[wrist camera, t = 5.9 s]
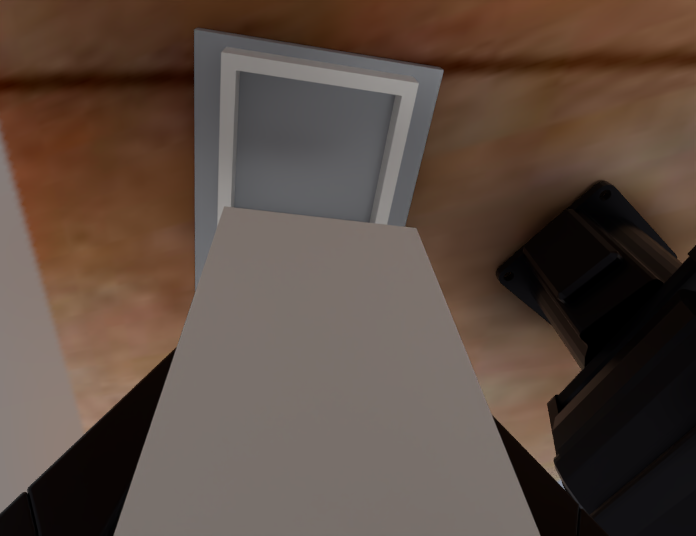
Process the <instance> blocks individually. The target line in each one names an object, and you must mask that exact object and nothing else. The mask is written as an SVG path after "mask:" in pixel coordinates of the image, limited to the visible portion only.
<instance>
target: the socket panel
mask: <svg viewBox="0 0 696 536" xmlns="http://www.w3.org/2000/svg"><path fill="white" fill-rule="evenodd" d="M443 71H444V70H443V69H442V68H440V67H435V66H429V65H423V64H417V63H411V62H405V61H399V60H393V59H386V58H380V57H374V56H368V55H362V54H356V53H350V52H344V51H338V50H332V49H325V48H319V47H313V46H307V45H301V44H295V43H289V42H283V41H277V40H271V39H264V38H258V37H252V36H246V35H240V34H234V33H228V32H222V31H216V30H210V29H203V28H196V29H194V118H195V292H196V289H197V286H198V283H199V280H200V277H201V274H202V271H203V268H204V265H205V262H206V259H207V256H208V253H209V250H210V247H211V244H212V241H213V238H214V235H215V232H216V229H217V226H218V223H219V220H220V217H221V214H222V211H223V208H224V206H226V207H234V208H243V209H252V210H261V211H270V212H279V213H287V214H296V215H305V216H314V217H323V218H332V219H340V220H349V221H358V222H367V223H376V224H385V225H393V226H402V227H405V224H406V220H407V216H408V212H409V208H410V204H411V200H412V196H413V192H414V188H415V184H416V180H417V176H418V172H419V168H420V164H421V160H422V156H423V152H424V148H425V144H426V140H427V136H428V132H429V128H430V124H431V120H432V116H433V112H434V108H435V104H436V100H437V96H438V91H439V87H440V83H441V79H442V75H443Z"/></svg>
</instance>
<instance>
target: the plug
mask: <svg viewBox="0 0 696 536" xmlns="http://www.w3.org/2000/svg"><path fill="white" fill-rule="evenodd" d="M114 536H540V533H539V531H538V528H537V526H536V523H535V521H534V518H533V516H532V513H531V511H530V509H529V506H528V504H527V501H526V499H525V496H524V494H523V491H522V489H521V486H520V484H519V481H518V479H517V476H516V474H515V471H514V469H513V466H512V464H511V461H510V459H509V456H508V454H507V452H506V449H505V447H504V444H503V442H502V439H501V437H500V434H499V432H498V429H497V427H496V424H495V422H494V419H493V417H492V414H491V412H490V409H489V407H488V404H487V402H486V399H485V397H484V395H483V392H482V390H481V387H480V385H479V382H478V380H477V377H476V375H475V372H474V370H473V367H472V365H471V362H470V360H469V357H468V355H467V352H466V350H465V347H464V345H463V342H462V340H461V338H460V335H459V333H458V330H457V328H456V325H455V323H454V320H453V318H452V315H451V313H450V310H449V308H448V305H447V303H446V300H445V298H444V295H443V293H442V290H441V288H440V285H439V283H438V281H437V278H436V276H435V273H434V271H433V268H432V266H431V263H430V261H429V258H428V256H427V253H426V251H425V248H424V246H423V243H422V241H421V238H420V236H419V233H418V231H417V228H411V227H402V226H393V225H385V224H376V223H367V222H358V221H349V220H340V219H332V218H323V217H314V216H305V215H296V214H287V213H279V212H270V211H261V210H252V209H243V208H234V207H226V206H224V208H223V211H222V214H221V217H220V220H219V223H218V226H217V229H216V232H215V235H214V238H213V241H212V244H211V247H210V250H209V253H208V256H207V259H206V262H205V265H204V268H203V271H202V274H201V277H200V280H199V283H198V286H197V289H196V292H195V295H194V298H193V301H192V304H191V307H190V310H189V312H188V315H187V318H186V321H185V324H184V327H183V330H182V333H181V336H180V339H179V342H178V345H177V348H176V351H175V354H174V357H173V360H172V363H171V366H170V369H169V372H168V375H167V378H166V381H165V384H164V387H163V390H162V393H161V396H160V399H159V402H158V405H157V408H156V411H155V414H154V417H153V420H152V423H151V426H150V429H149V431H148V434H147V437H146V440H145V443H144V446H143V449H142V452H141V455H140V458H139V461H138V464H137V467H136V470H135V473H134V476H133V479H132V482H131V485H130V488H129V491H128V494H127V497H126V500H125V503H124V506H123V509H122V512H121V515H120V518H119V521H118V524H117V527H116V530H115V533H114Z"/></svg>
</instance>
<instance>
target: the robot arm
mask: <svg viewBox="0 0 696 536" xmlns="http://www.w3.org/2000/svg"><path fill="white" fill-rule="evenodd" d="M605 190H606V193H605V194H604V195H603V196H601V197H600V194H601V193H602V192H603V191H605ZM688 255H689V257H688V258H687V260H686V261H685V262H684V263H681V262H680V261H679V260H678V259H677V256H676V254H675V253H674V252H673V251H672V250H671V249H670V248H669V247H668V245H667V244H666V243H665V242H664V241H663V240H662V239H661V238H660V237H659V235H658V234H657V233H656V232H655V231H654V230H653V229H652V228H651V227H650V225H649V224H648V223H647V222H646V221H645V220H644V219H643V218H642V216H641V215H640V214H639V213H638V212H637V211H636V210H635V209H634V208H633V206H632V205H631V204H630V203H629V202H628V201H627V200H626V199H625V198H624V196H623V195H622V194H621V193H620V192H619V191H618V190H617V189H616V188H615V187H614V186H613V185H612V184H610V183H609V182H606V181H602V182H599V183H597V184H596V185H594V186H593V187H592V188H591V189H589V190H588V191H587V192H586V193H585V194H584V195H582V196H581V197H580V198H579V199H578V200H577V201H575V202H574V203H573V204H572V205H571V206H570V207H569V208H567V209H566V210H565V211H563V212H562V213H561V214H560V215H559V216H558V217H556V218H555V219H554V220H553V221H552V222H551V223H549V224H548V225H547V226H546V227H545V228H544V229H542V230H541V231H540V232H539V233H538V234H537V235H535V236H534V237H533V238H532V239H531V240H530V241H529V242H527V243H526V244H525V245H524V246H523V247H522V248H521V249H520V250H518V251H517V252H516V253H515V254H514V255H513V256H511V257H510V258H509V259H508V260H507V261H506V262H504V263H503V264H502V265H501V266H500V267H499V268H498V269H497V271H496V276H497V278H498V280H499V281H500V283H501V284H502V285H504V286H505V287H506V288H507V289H508V290H510V291H511V292H512V293H513V294H515V295H516V296H517V297H518V298H519V299H521V300H522V301H523V302H524V303H525V304H527V305H528V306H529V307H530V308H532V309H533V310H534V311H535V312H536V313H538V314H539V315H540V316H541V317H542V318H544V319H545V320H546V321H547V322H549V323H550V324H551V325H552V326H553V327H554V329H555V330H556V332H557V333H558V335H559V336H560V338H561V339H562V341H563V342H564V344H565V345H566V347H567V348H568V350H569V351H570V353H571V354H572V356H573V357H574V359H575V360H576V362H577V363H578V365H579V366H580V368H581V369H582V371H581V372H580V373H579V374H578V375H577V376H576V377H575V378H574V379H573V380H572V381H571V382H570V384H569V385H568V386H567V387H566V388H565V389H564V390H563V391H562V392H561V393H560V394H559V395H555V396H554V397H553V398H552V399H551V400H550V401H549V402H548V403H547V406H548V411H549V417H550V423H551V428H552V434H553V439H554V445H555V451H556V457H555V458H554V464H555V469H556V471H557V473H558V474H559V476H560V478H561V480H562V484H563V486H564V488H565V490H566V491H565V490H564V489H563V488H562V487H561V486H560V485H559V484H558V483H557V481H556V480H555V479H554V478H553V477H552V476H551V475H550V474H549V473H548V472H547V471H546V470H545V469H544V468H543V467H542V466H541V465H540V464H539V463H538V462H537V461H536V460H535V459H534V458H533V457H532V456H531V455H530V454H529V453H528V452H527V450H526V449H525V448H524V447H523V446H522V445H521V444H520V443H519V442H518V441H517V440H516V439H515V438H514V437H513V436H512V435H511V434H510V433H509V432H508V431H507V430H506V429H505V428H504V427H503V426H502V425H501V424H500V423H499V422H498V421H497V420H496V418H495V417H494V416H493V415H492V417H493V419H494V422H495V424H496V427H497V429H498V432H499V434H500V437H501V439H502V442H503V444H504V447H505V449H506V452H507V454H508V456H509V459H510V461H511V464H512V466H513V469H514V471H515V474H516V476H517V479H518V481H519V484H520V486H521V489H522V491H523V494H524V496H525V499H526V501H527V504H528V506H529V509H530V511H531V513H532V516H533V518H534V521H535V523H536V526H537V528H538V531H539V533H540V536H696V245H695V247H694V248H693V249H692V250H691V251H690V252H689V253H688ZM508 272H511V273H510V275H508V276H504V275H505V274H506V273H508ZM176 348H177V347H176ZM176 348H175V349H174V350H173V351H172V352H171V353H170V354H169V355H168V356H167V357H166V358H164V359H163V360H162V361H161V362H160V363H159V364H158V365H157V366H156V367H155V368H154V369H153V370H152V371H151V372H150V373H149V374H148V375H147V376H145V377H144V378H143V379H142V380H141V381H140V382H139V383H138V384H137V385H136V386H135V387H134V388H133V389H132V390H131V391H130V392H129V393H128V394H126V395H125V396H124V397H123V398H122V399H121V400H120V401H119V402H118V403H117V404H116V405H115V406H114V407H113V408H112V409H111V410H110V411H109V412H107V413H106V414H105V415H104V416H103V417H102V418H101V419H100V420H99V421H98V422H97V423H96V424H95V425H94V426H93V427H92V428H91V429H89V430H88V431H87V432H86V433H85V434H84V435H83V436H82V437H81V438H80V439H79V440H78V441H77V442H76V443H75V444H74V445H73V446H72V447H71V448H69V449H68V450H67V451H66V452H65V453H64V454H63V455H62V456H61V457H60V458H59V459H58V460H57V461H56V462H55V463H54V464H53V465H52V466H50V467H49V468H48V469H47V470H46V471H45V472H44V473H43V474H42V475H41V476H40V477H39V478H38V479H37V480H36V481H35V482H34V483H32V484H31V485H30V487H28V489H27V492H28V493H26V492H23V493H22V494H20V496H18V497H17V498H16V499H15V500H14V501H13V502H12V503H11V504H10V505H9V506H8V507H7V508H6V509H5V510H4V511H3V512H1V513H0V536H114V533H115V530H116V527H117V524H118V521H119V518H120V515H121V512H122V509H123V506H124V503H125V500H126V497H127V494H128V491H129V488H130V485H131V482H132V479H133V476H134V473H135V470H136V467H137V464H138V461H139V458H140V455H141V452H142V449H143V446H144V443H145V440H146V437H147V434H148V431H149V429H150V426H151V423H152V420H153V417H154V414H155V411H156V408H157V405H158V402H159V399H160V396H161V393H162V390H163V387H164V384H165V381H166V378H167V375H168V372H169V369H170V366H171V363H172V360H173V357H174V354H175V351H176Z"/></svg>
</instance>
